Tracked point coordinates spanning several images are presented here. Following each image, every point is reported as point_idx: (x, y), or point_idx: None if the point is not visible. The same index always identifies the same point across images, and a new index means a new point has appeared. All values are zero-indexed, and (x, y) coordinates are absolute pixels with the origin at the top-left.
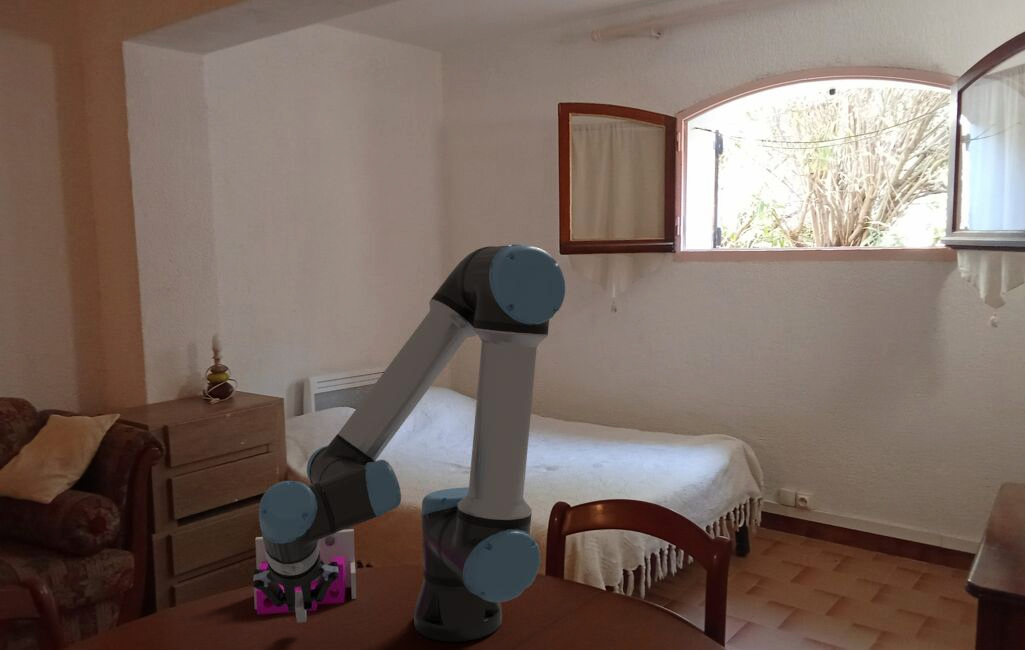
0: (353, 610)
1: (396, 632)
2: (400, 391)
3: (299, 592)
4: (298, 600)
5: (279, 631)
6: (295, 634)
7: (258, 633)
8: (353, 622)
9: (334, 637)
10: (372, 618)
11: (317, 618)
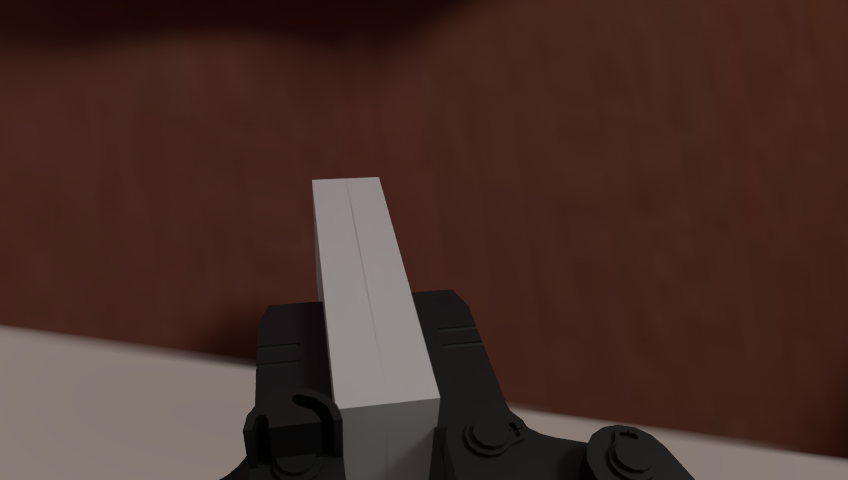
0: (595, 51)
1: (840, 357)
2: None
3: (386, 415)
4: (374, 475)
5: (197, 224)
6: (302, 283)
7: (60, 226)
8: (613, 196)
9: (534, 362)
10: (704, 169)
11: (410, 102)
